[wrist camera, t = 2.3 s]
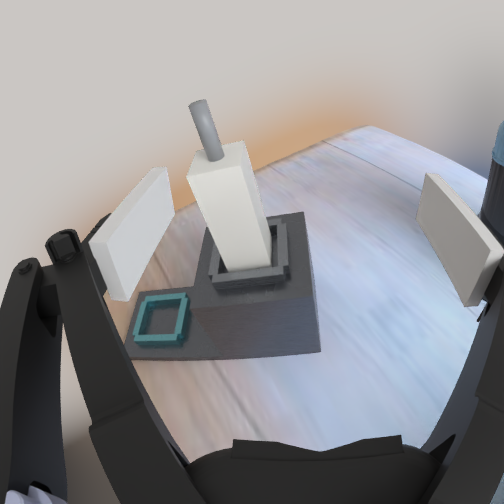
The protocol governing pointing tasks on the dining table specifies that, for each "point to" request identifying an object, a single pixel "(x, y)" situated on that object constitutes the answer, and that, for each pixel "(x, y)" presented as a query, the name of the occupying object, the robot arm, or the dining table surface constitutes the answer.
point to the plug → (229, 197)
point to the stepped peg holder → (234, 306)
